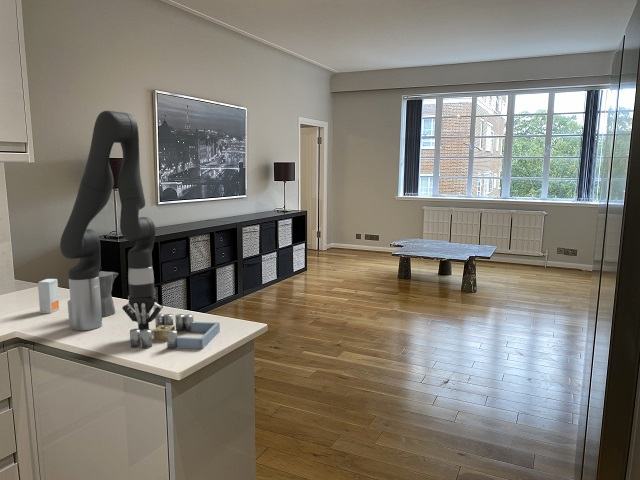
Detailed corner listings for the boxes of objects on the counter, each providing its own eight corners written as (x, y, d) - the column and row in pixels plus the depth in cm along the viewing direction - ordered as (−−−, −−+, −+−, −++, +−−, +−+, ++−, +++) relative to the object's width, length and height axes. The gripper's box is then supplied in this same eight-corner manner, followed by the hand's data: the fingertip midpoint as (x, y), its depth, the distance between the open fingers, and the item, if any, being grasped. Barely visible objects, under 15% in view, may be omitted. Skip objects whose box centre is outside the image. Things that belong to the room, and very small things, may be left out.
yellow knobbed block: (154, 341, 150) (153, 329, 149) (159, 335, 155) (159, 324, 154) (169, 341, 150) (169, 330, 149) (174, 335, 155) (174, 324, 154)
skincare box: (51, 313, 179) (48, 282, 177) (39, 313, 179) (37, 282, 177) (60, 309, 185) (57, 278, 183) (49, 308, 185) (46, 278, 183)
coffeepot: (117, 308, 186) (114, 262, 184) (124, 313, 179) (122, 266, 176) (73, 315, 176) (70, 267, 174) (79, 321, 169) (76, 271, 167)
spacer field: (128, 347, 144) (127, 331, 143) (156, 327, 162) (156, 313, 162) (175, 349, 142) (174, 333, 141) (198, 329, 161) (197, 314, 160)
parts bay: (172, 347, 144) (172, 337, 143) (192, 330, 160) (191, 321, 159) (203, 348, 143) (202, 339, 142) (219, 331, 159) (219, 322, 158)
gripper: (114, 283, 147) (118, 337, 150) (156, 284, 146) (158, 338, 148) (127, 277, 155) (130, 329, 157) (166, 278, 153) (168, 330, 156)
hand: (144, 334), depth 153 cm, fingers closed
